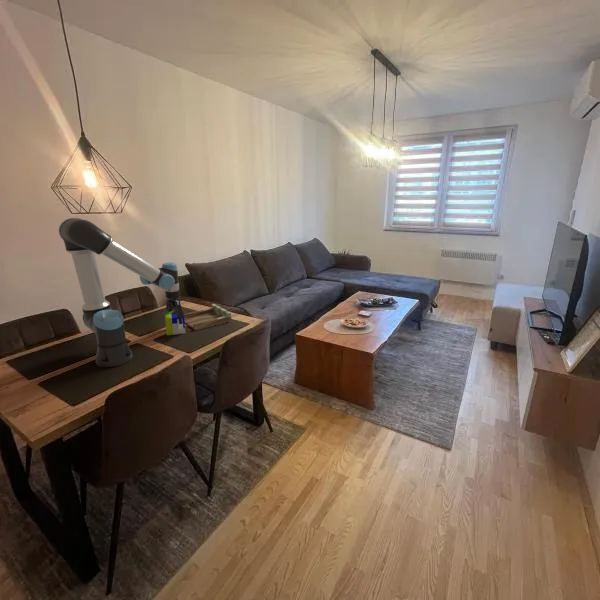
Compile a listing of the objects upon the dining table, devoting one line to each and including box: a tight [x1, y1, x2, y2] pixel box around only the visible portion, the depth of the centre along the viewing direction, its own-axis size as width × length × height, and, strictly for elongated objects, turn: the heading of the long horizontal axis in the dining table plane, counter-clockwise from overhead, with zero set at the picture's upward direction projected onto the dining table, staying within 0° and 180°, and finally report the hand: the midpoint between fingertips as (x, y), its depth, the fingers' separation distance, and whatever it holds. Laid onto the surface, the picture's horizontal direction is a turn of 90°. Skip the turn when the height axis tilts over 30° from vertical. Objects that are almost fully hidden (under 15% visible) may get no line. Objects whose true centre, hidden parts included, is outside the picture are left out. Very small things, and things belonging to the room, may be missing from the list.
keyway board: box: [184, 303, 232, 331], centre depth 206 cm, size 22×24×6 cm
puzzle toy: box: [164, 311, 186, 336], centre depth 189 cm, size 10×10×10 cm
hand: (176, 325), depth 189 cm, fingers open, 13 cm apart
